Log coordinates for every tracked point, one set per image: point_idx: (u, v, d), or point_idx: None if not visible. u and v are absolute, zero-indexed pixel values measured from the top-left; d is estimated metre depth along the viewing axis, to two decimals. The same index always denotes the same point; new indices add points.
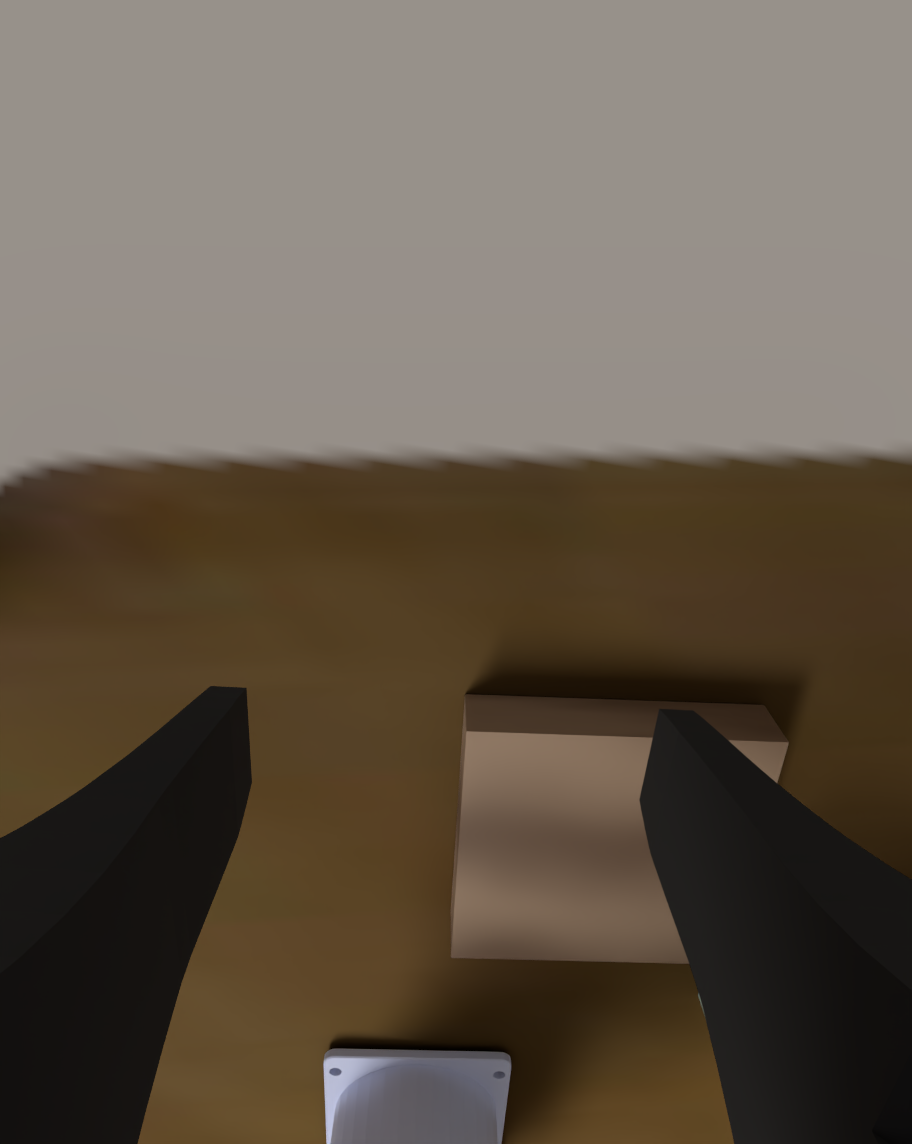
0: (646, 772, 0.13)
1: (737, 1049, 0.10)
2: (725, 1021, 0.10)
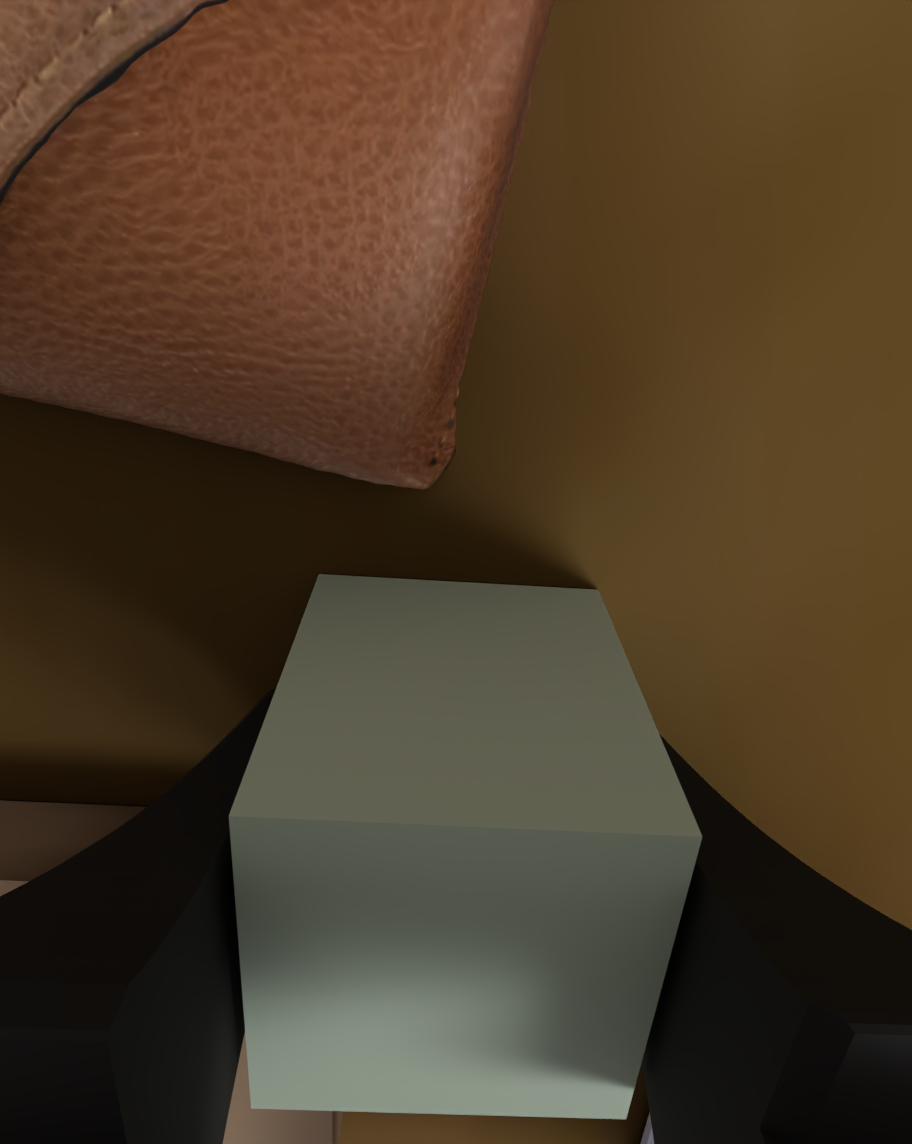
0: None
1: (657, 1047, 0.09)
2: None
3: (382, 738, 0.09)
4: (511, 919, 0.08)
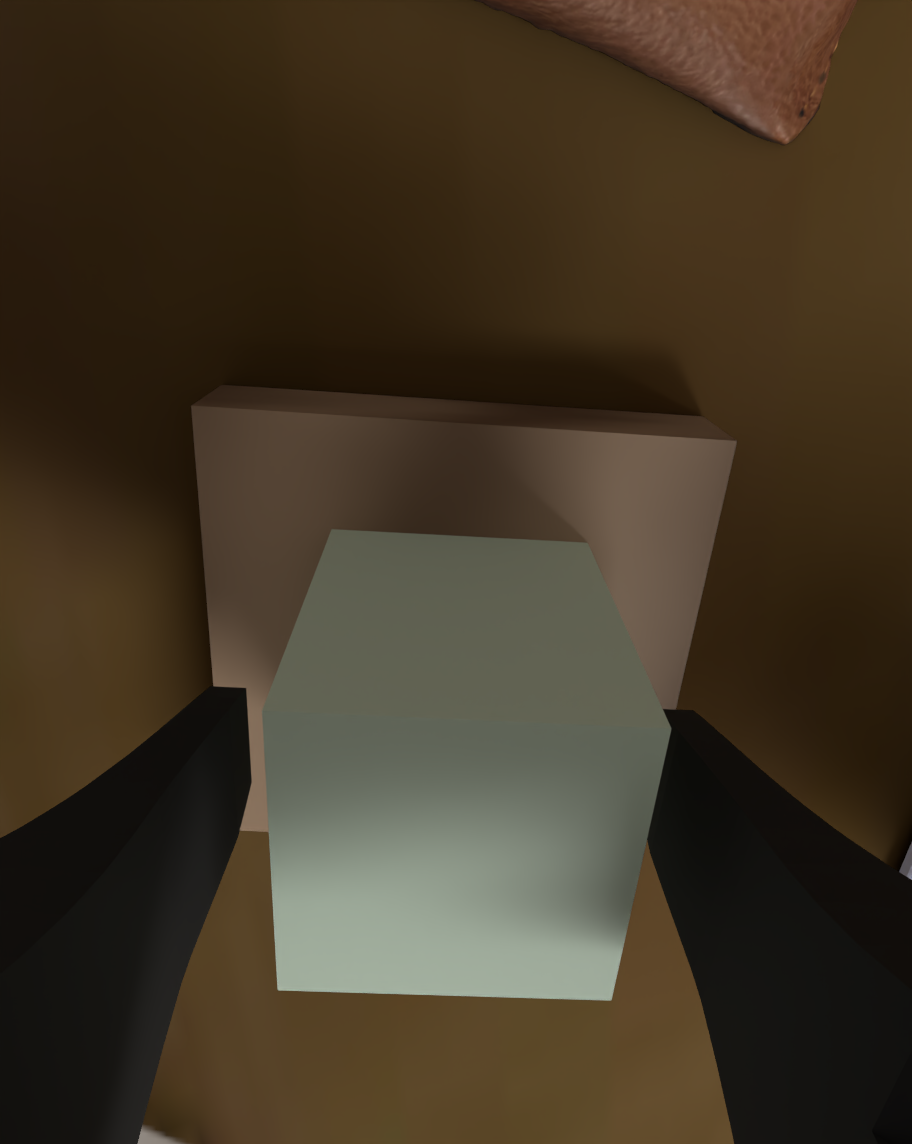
0: None
1: (737, 1049, 0.10)
2: (725, 1021, 0.10)
3: (392, 655, 0.10)
4: (506, 806, 0.10)
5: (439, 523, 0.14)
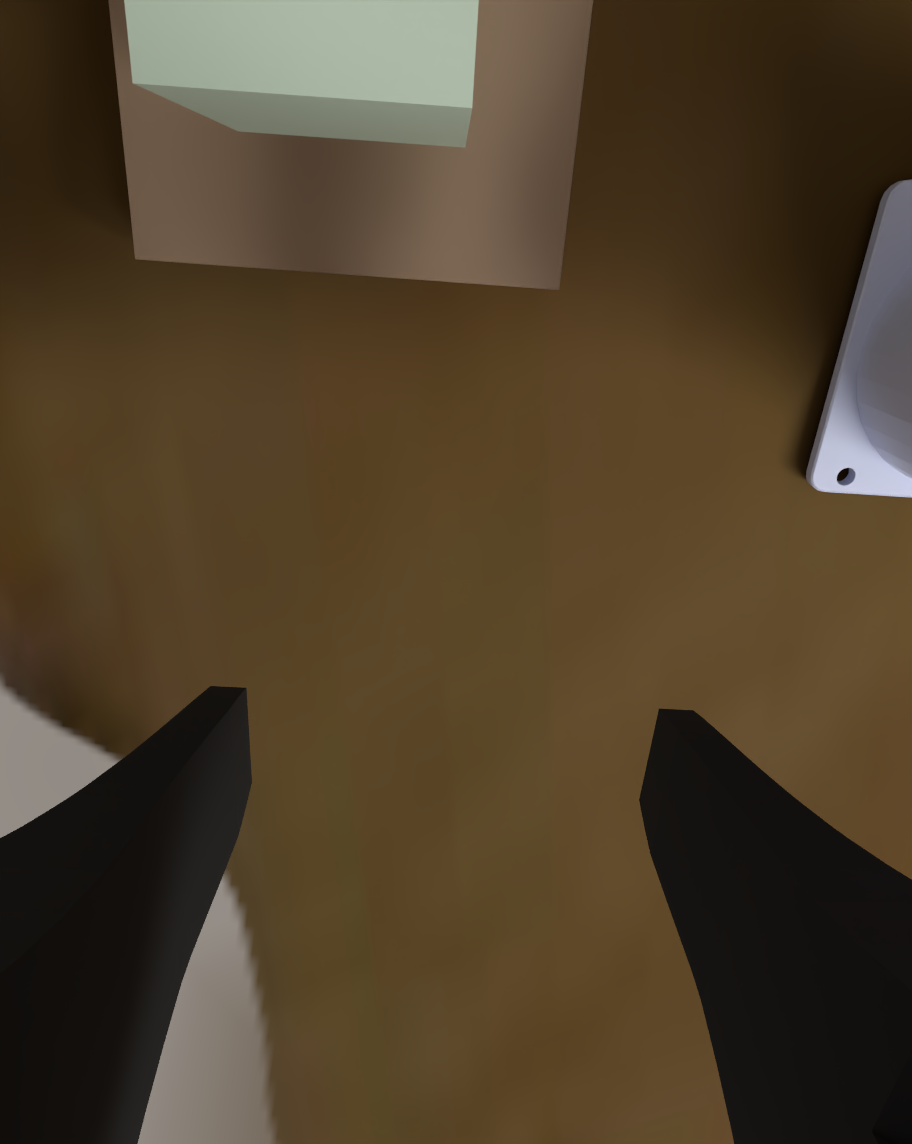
0: (645, 772, 0.13)
1: (737, 1049, 0.10)
2: (725, 1021, 0.10)
3: None
4: None
5: None
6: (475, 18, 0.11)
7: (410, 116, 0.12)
